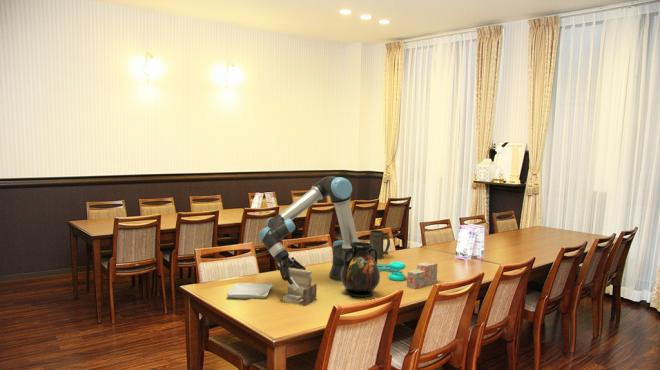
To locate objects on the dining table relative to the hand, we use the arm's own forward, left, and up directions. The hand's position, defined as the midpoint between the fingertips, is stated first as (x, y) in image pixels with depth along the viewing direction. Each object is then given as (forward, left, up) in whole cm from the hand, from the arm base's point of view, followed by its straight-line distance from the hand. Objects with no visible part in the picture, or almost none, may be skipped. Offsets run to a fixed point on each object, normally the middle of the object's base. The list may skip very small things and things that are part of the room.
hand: (303, 285), depth 255 cm
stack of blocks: (-71, -33, -9) cm, 78 cm away
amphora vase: (-31, -13, -8) cm, 35 cm away
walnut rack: (+2, +1, -8) cm, 9 cm away
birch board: (+2, -1, -7) cm, 8 cm away
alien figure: (-54, -66, -9) cm, 85 cm away
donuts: (-58, -45, -8) cm, 74 cm away
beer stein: (-56, -100, -8) cm, 115 cm away
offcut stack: (+5, +4, -7) cm, 10 cm away
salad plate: (+28, -11, -9) cm, 31 cm away
